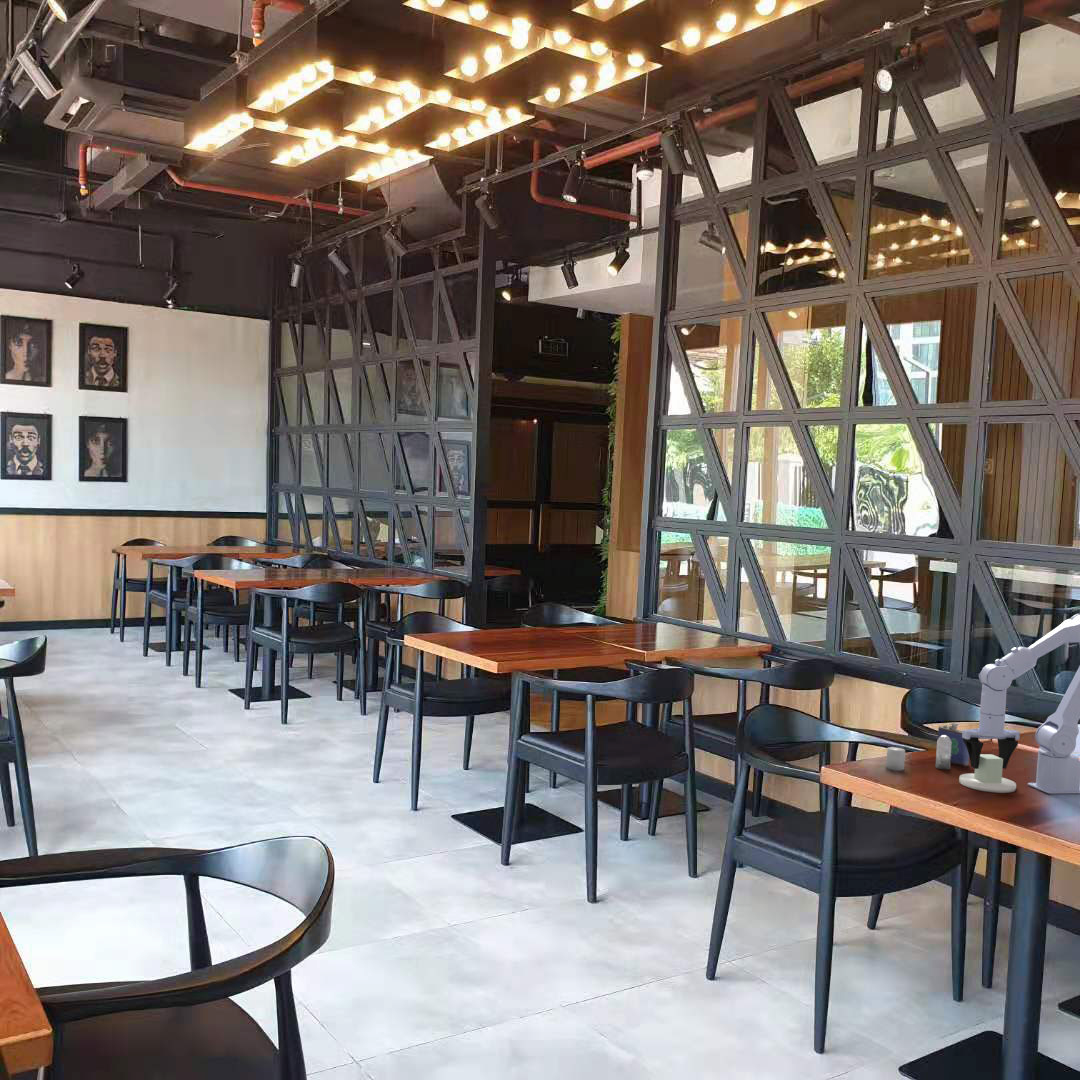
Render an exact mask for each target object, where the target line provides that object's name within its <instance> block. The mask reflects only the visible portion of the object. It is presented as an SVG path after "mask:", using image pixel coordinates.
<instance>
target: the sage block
mask: <svg viewBox="0 0 1080 1080" xmlns="http://www.w3.org/2000/svg"><path fill="white" fill-rule="evenodd" d="M974 778H975V779H977V780H979V781H981V782H984V783H1001V781H1002V778H1003V759H1002V758H1000V757H999V756H997V755H994V754H991V753H990V754H986V753H985V754H983V753H980V761H979V768H978V769H975V768H974Z"/></svg>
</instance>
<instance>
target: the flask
mask: <svg viewBox="0 0 1080 1080" xmlns="http://www.w3.org/2000/svg"><path fill="white" fill-rule="evenodd" d="M950 725H951V726H949V725H942V726H941V725H939V727H938V730H937V731H938V732H937V739H938V738H939V737H940V736H942V735H946V736H948V737H949V738H950V739H951V742H952V746H951V762H950V765H951V764H952V765H957V766H959V767H961V766H962V767H968V766H969V763H970V757H969V753H968V750H967V748H966V745H965V743H964V741H963V738H962V731H963V730H960V729H958V726H959V723H957V722H956V723H954V722H950Z"/></svg>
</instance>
